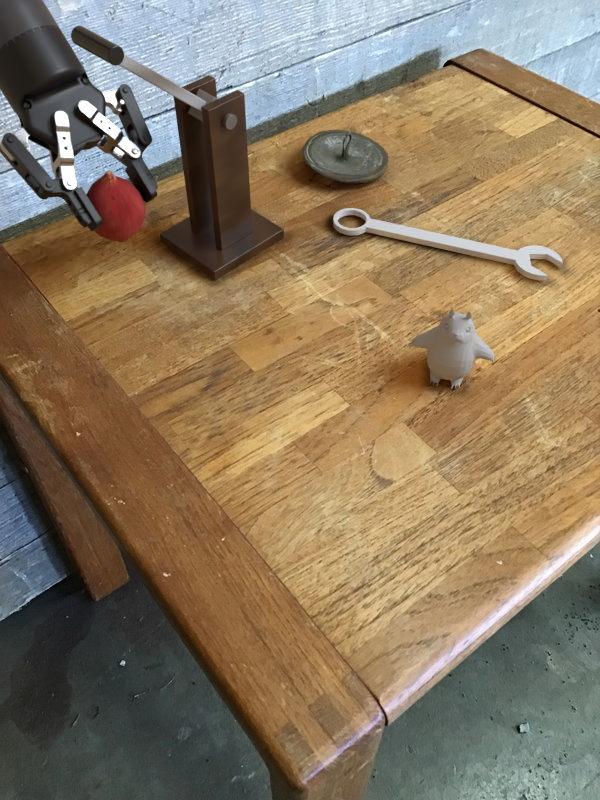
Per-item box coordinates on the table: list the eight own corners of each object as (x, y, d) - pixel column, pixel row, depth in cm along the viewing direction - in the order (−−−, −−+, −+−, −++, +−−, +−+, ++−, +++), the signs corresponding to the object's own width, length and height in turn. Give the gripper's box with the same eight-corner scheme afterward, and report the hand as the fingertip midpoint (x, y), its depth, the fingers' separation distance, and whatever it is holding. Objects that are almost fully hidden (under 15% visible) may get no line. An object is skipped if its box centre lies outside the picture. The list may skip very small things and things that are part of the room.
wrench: (557, 284, 76) (563, 256, 78) (559, 279, 75) (565, 251, 78) (326, 232, 81) (340, 207, 84) (327, 227, 80) (340, 202, 83)
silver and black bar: (103, 67, 55) (116, 36, 55) (65, 45, 58) (77, 15, 57) (231, 137, 69) (242, 113, 69) (196, 118, 71) (207, 94, 71)
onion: (84, 255, 73) (65, 186, 67) (103, 220, 76) (86, 151, 70) (141, 261, 72) (127, 192, 66) (157, 225, 76) (145, 156, 70)
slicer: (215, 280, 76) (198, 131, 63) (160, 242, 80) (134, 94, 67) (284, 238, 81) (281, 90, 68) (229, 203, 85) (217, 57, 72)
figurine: (399, 383, 67) (409, 321, 61) (409, 338, 71) (419, 276, 65) (488, 399, 66) (507, 338, 60) (493, 353, 69) (512, 291, 63)
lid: (298, 159, 93) (289, 126, 89) (372, 130, 93) (366, 96, 89) (323, 210, 87) (314, 177, 83) (402, 180, 87) (396, 145, 83)
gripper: (-47, 52, 60) (71, 236, 64) (99, 0, 67) (198, 169, 70) (-56, 92, 66) (52, 256, 70) (78, 41, 73) (170, 194, 77)
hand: (125, 212), depth 70 cm, fingers closed on onion, 5 cm apart
